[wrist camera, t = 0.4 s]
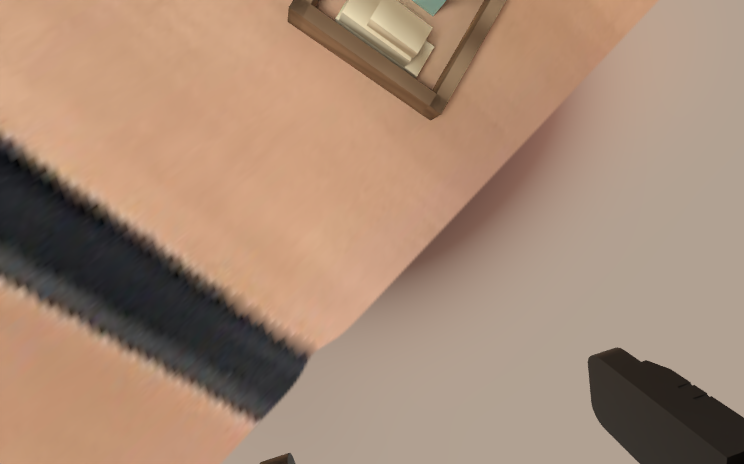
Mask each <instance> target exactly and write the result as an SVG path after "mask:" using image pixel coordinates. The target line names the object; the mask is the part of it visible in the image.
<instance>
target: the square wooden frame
mask: <svg viewBox="0 0 744 464" xmlns="http://www.w3.org/2000/svg"><path fill="white" fill-rule="evenodd" d="M318 1H319V0H293V1H292V3H291V5H290V6H289V12H288V22H289V23H290V24H292V25H293V26H295V27H296V28H298V29H299V30H301V31H302V32H303V33H305V34H306V35H308V36H309V37H311V38H312V39H314V40H315V41H316V42H318V43H319V44H321V45H322V46H324V47H325V48H327V49H328V50H329V51H331V52H332V53H334V54H335V55H337V56H338V57H340V58H341V59H342V60H344V61H345V62H347V63H348V64H350V65H351V66H353V67H354V68H355V69H357V70H358V71H360V72H361V73H363V74H364V75H366V76H367V77H368V78H370V79H371V80H373V81H374V82H376V83H377V84H379V85H380V86H381V87H383V88H384V89H386V90H387V91H389V92H390V93H392V94H393V95H394V96H396V97H397V98H399V99H400V100H402V101H403V102H405V103H406V104H407V105H409V106H410V107H412V108H413V109H415V110H416V111H418V112H419V113H420V114H422V115H423V116H425V117H426V118H428V119H429V120H432V119H433V118H435V117H437V116H439V115H440V114H441V113H442V112H443V110H444V108H445V106H446V105H447V103H448V101H449V99H450V98H451V96H452V94H453V93H454V91H455V89H456V87H457V86H458V84H459V82H460V80H461V79H462V77H463V75H464V73H465V72H466V70H467V68H468V66H469V65H470V63H471V61H472V59H473V58H474V56H475V54H476V52H477V51H478V49H479V47H480V46H481V44H482V42H483V40H484V39H485V37H486V35H487V33H488V32H489V30H490V28H491V26H492V25H493V23H494V21H495V19H496V18H497V16H498V14H499V12H500V11H501V9H502V7H503V6H504V4H505V2H506V0H484V2H483V4H482V5H481V7H480V9H479V11H478V12H477V14H476V16H475V17H474V19H473V21H472V23H471V24H470V26H469V28H468V30H467V31H466V33H465V35H464V36H463V38H462V40H461V42H460V43H459V45H458V47H457V49H456V50H455V52H454V54H453V55H452V57H451V59H450V61H449V62H448V64H447V66H446V67H445V69H444V71H443V73H442V74H441V76H440V78H439V80H438V81H437V83H436V85H435V86H434V88H433V90H431V89H429V88H428V87H426V86H425V85H424V84H422V83H421V82H419V81H418V80H417V79H415V78H414V77H412V76H411V75H410V74H408V73H407V72H405V71H404V70H402V69H401V68H400V67H398V66H397V65H395V64H394V63H393V62H391V61H390V60H388V59H387V58H386V57H384V56H383V55H381V54H380V53H379V52H377V51H376V50H374V49H373V48H372V47H370V46H369V45H367V44H366V43H365V42H363V41H362V40H360V39H359V38H358V37H356V36H355V35H353V34H352V33H351V32H349V31H348V30H346V29H345V28H344V27H342V26H341V25H339V24H338V23H337V22H335V21H334V20H332V19H331V18H330V17H328V16H327V15H325V14H324V13H323V12H321V11H320V10H318V9H317V8H315V6H316V5H317V3H318Z"/></svg>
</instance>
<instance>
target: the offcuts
mask: <svg viewBox="0 0 744 464" xmlns="http://www.w3.org/2000/svg"><path fill="white" fill-rule="evenodd" d="M335 22H337V23H338V24H339V25H341V26H342V27H344V28H345V29H346V30H348V31H349V32H351V33H352V34H353V35H355V36H356V37H358V38H359V39H360V40H362V41H363V42H365V43H366V44H367V45H369V46H370V47H372V48H373V49H374V50H376V51H377V52H379V53H380V54H381V55H383V56H384V57H386V58H387V59H388V60H390V61H391V62H393V63H394V64H395V65H397V66H398V67H400V68H401V69H402V70H404V71H405V72H407V73H408V74H410V75H411V76H412V77H414V78H416V77H417V76H418V74H419V72H420V70H421V69H422V67H423V65H424V64H425V62H426V60H427V58H428V57H429V55H430V53H431V52H432V50H433V48H434V46H433V45H431V44H430V43H429V42H427V41H426V39H427V37H428V35H429V33H430V32H431V30H432V28H433V27H431V26H430V25H429V24H427V23H426V22H425V21H423V20H422V19H421V18H419V17H418V16H417V15H416V14H414V13H413V12H412V11H410V10H409V9H408V8H406V7H405V6H404V5H402V4H401V3H400V2H398V1H397V0H346V2H345V4H344V5H343V7H342V9H341V10H340V12H339V14H338V15H337V17H336V19H335Z"/></svg>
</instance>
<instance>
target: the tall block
mask: <svg viewBox="0 0 744 464" xmlns="http://www.w3.org/2000/svg"><path fill="white" fill-rule="evenodd" d="M412 1H414V2H415V3H416V4H417V5H419V6H420V7H421V8H423V9H424V10H425V11H427V12H428V13H429V14H431V15H432V16H434V15H435V13H436V12H437V11H438V10H439V9H440V7H441V6H442V5H443V4H444V3H445V1H446V0H412Z"/></svg>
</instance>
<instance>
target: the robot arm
mask: <svg viewBox="0 0 744 464" xmlns="http://www.w3.org/2000/svg"><path fill="white" fill-rule="evenodd" d="M588 370H589V381H590V392H591V402H592V407H593V410H594V413H595V415H596V417H597V419H598V420H599V422H600V423H601V425H602V426H603V427H604V428H605V429H606V430H607V431H608V432H609V433H610V434H611V435H612V436H613V437H614V438H615V439H616V440H617V441H618V442H619V443H620V444H621V445H622V446H623V447H624V448H625V449H626V450H627V451H628V452H629V453H630V454H631V455H632V456H633V457H634V458H635V459H636V460H637V461H638V462H639V463H640V464H744V418H743V417H742V416H740V415H739V414H737V413H736V412H734V411H733V410H731V409H730V408H728V407H727V406H725V405H724V404H722V403H721V402H719V401H718V400H716V399H715V398H713V397H712V396H711V397H709V396H708V395H707V393H706V392H704V391H703V390H701V389H699V388H698V387H697V386H695V385H693V386H692V385H691V383H690V382H689V381H688V380H686V379H684V378H683V377H681V376H680V375H678V374H677V373H675V372H674V371H672V370H671V369H668V368H666V367H663V366H660V365H658V364H655V363H652V362H650V361H643V362H640V361H639V360H637V359H636V358H635V357H633V356H632V355H630V354H629V353H628V352H626V351H624V350H623V349H621V348H614V349H611V350H607V351H604V352H601V353H598V354H595V355H592V356H590V357H589V359H588ZM260 464H295V461H294V459H293V456H292V455H291V453H288V454H285V455H281V456H278V457H275V458H272V459H269V460H266V461H263V462H261V463H260Z"/></svg>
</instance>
